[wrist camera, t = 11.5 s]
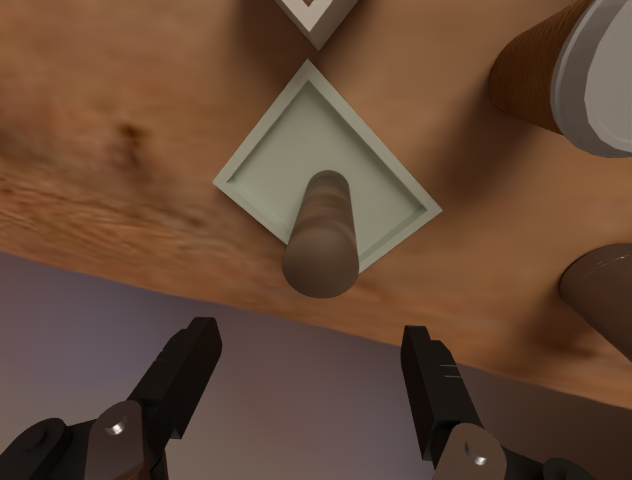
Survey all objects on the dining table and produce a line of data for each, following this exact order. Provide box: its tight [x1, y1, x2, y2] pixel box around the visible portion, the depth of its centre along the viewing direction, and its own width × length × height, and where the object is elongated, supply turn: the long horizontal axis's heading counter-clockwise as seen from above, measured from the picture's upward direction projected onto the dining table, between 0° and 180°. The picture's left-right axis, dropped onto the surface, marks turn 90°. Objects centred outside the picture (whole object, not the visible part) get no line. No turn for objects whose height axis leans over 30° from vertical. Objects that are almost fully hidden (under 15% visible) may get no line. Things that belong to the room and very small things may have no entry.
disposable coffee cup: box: [489, 0, 632, 158], centre depth 17 cm, size 10×10×12 cm
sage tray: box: [212, 58, 443, 273], centre depth 27 cm, size 18×14×2 cm
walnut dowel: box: [282, 170, 359, 298], centre depth 21 cm, size 4×4×14 cm
